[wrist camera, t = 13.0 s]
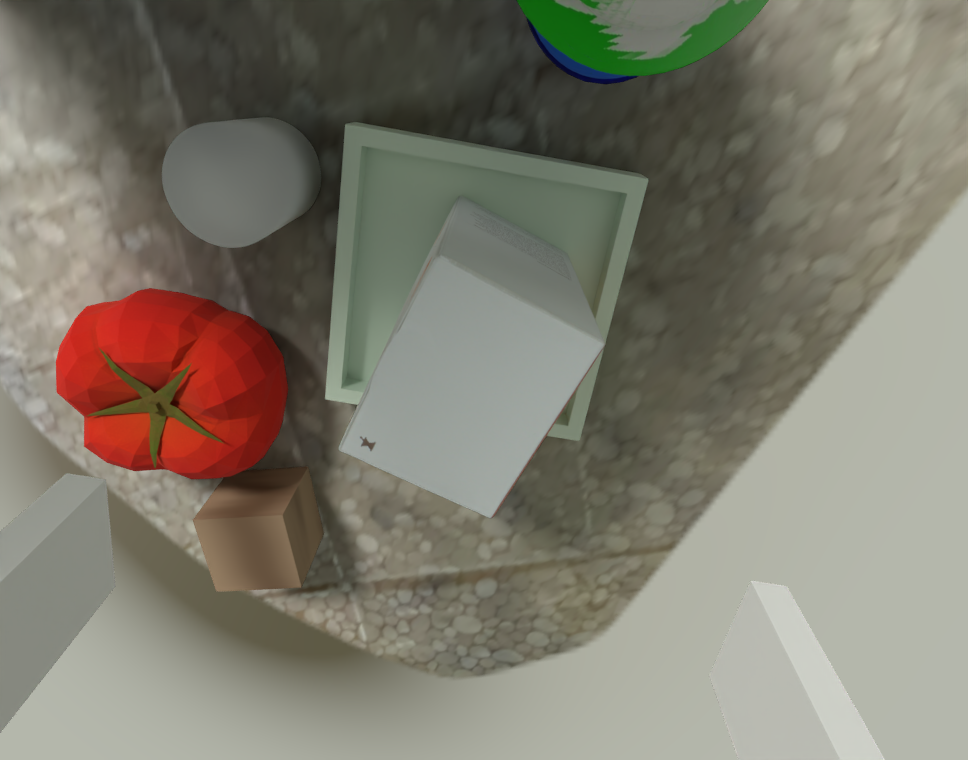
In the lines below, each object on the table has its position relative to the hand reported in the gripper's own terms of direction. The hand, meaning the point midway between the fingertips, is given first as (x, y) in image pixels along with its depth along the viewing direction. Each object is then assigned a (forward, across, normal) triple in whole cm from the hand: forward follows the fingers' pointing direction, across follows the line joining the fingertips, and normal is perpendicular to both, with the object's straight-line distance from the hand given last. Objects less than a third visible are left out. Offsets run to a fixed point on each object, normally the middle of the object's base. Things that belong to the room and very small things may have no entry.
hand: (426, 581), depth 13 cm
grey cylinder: (+23, -11, +4) cm, 26 cm away
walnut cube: (+23, -10, -16) cm, 30 cm away
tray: (+23, 0, 0) cm, 23 cm away
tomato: (+23, -14, -7) cm, 28 cm away
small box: (+22, 0, 0) cm, 22 cm away
